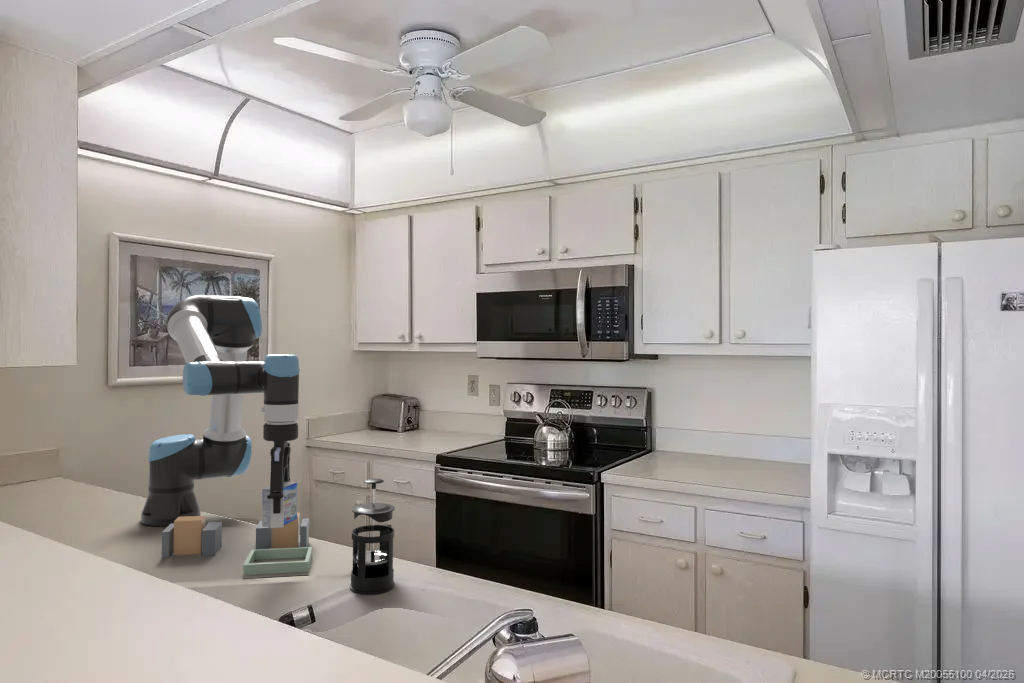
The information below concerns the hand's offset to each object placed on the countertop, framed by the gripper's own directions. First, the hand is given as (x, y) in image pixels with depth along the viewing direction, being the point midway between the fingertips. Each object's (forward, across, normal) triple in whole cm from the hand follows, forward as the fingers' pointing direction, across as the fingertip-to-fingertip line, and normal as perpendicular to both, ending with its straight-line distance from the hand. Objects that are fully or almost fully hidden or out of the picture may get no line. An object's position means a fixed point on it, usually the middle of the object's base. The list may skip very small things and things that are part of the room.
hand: (279, 521), depth 154 cm
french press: (+11, +13, +21) cm, 27 cm away
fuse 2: (+10, -13, 0) cm, 16 cm away
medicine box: (+1, 0, 0) cm, 1 cm away
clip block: (+11, -13, -11) cm, 20 cm away
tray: (+11, 0, 0) cm, 11 cm away
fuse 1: (+10, -13, -22) cm, 27 cm away
